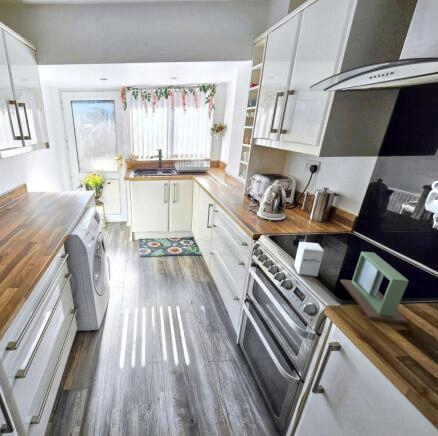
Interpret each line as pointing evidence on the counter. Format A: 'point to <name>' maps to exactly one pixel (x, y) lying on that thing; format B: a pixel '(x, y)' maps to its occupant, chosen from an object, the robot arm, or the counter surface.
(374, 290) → the sliding pane
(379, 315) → the window frame
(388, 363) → the counter surface
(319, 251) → the white packaging box
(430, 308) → the counter surface
